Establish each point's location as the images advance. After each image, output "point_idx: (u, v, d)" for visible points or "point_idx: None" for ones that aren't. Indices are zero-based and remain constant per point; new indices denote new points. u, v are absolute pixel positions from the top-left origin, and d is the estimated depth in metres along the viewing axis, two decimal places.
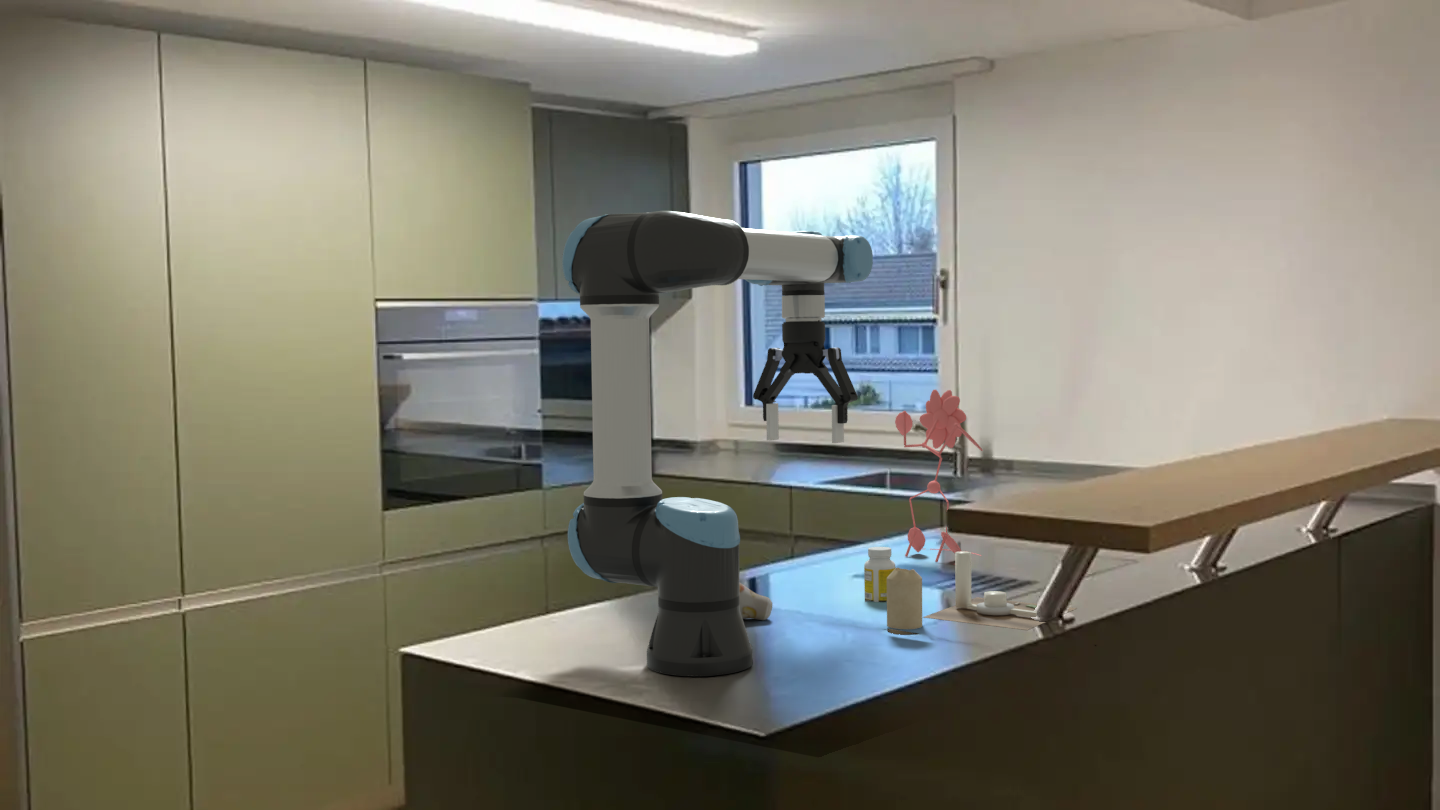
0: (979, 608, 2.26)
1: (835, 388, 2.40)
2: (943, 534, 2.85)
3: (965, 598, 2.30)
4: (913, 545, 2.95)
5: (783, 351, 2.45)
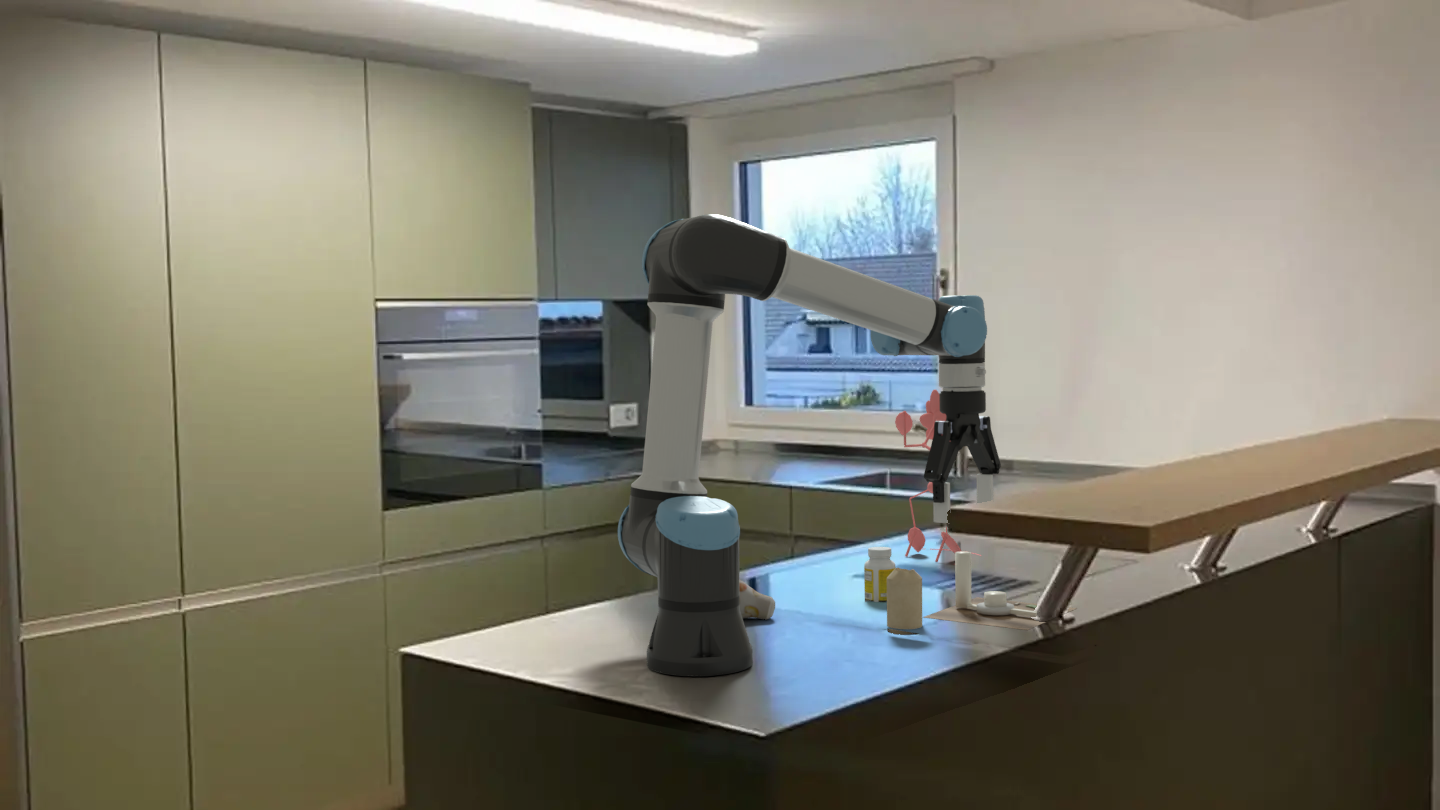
0: (979, 608, 2.26)
1: None
2: (943, 534, 2.85)
3: (965, 598, 2.30)
4: (913, 545, 2.95)
5: None
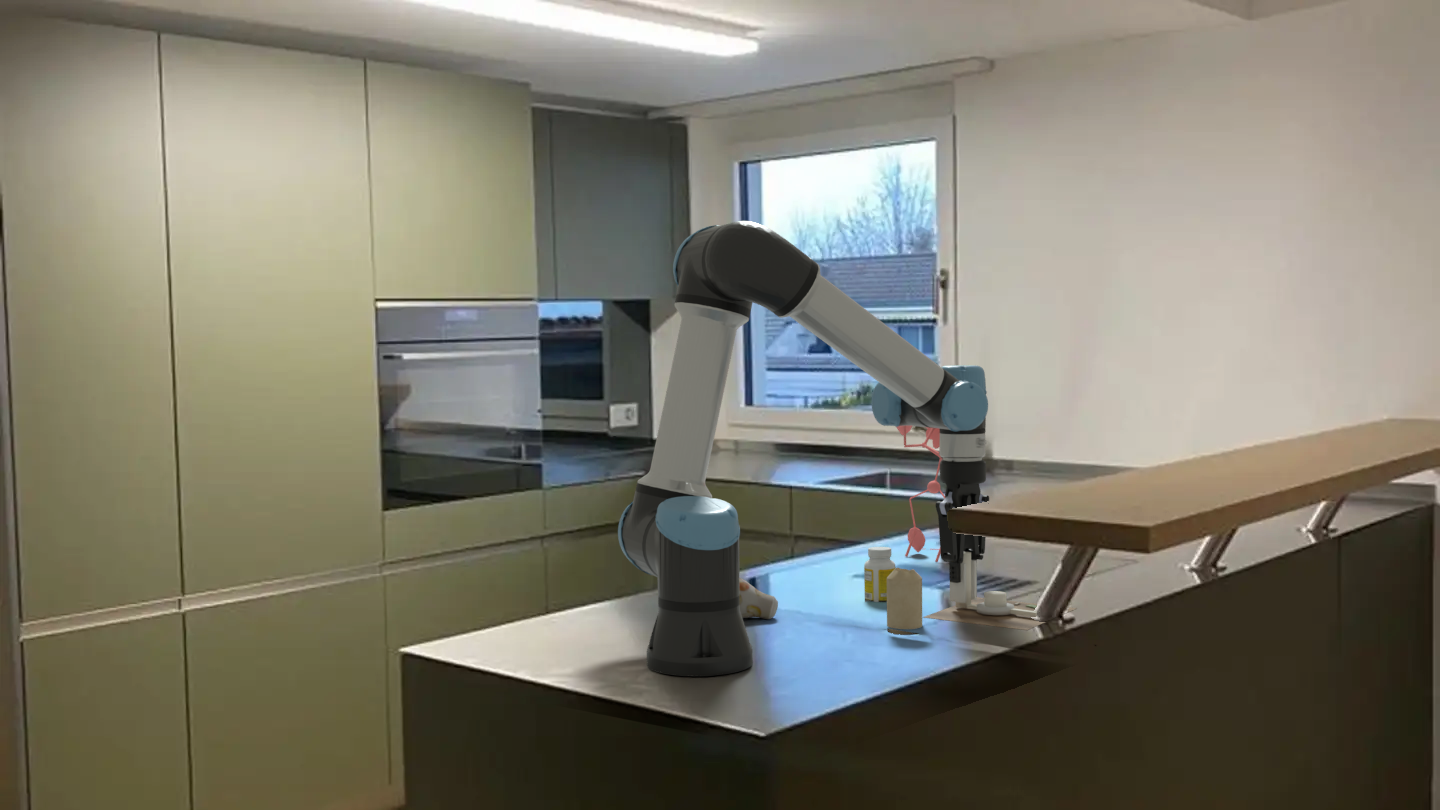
0: (979, 608, 2.26)
1: None
2: None
3: None
4: (913, 545, 2.95)
5: None
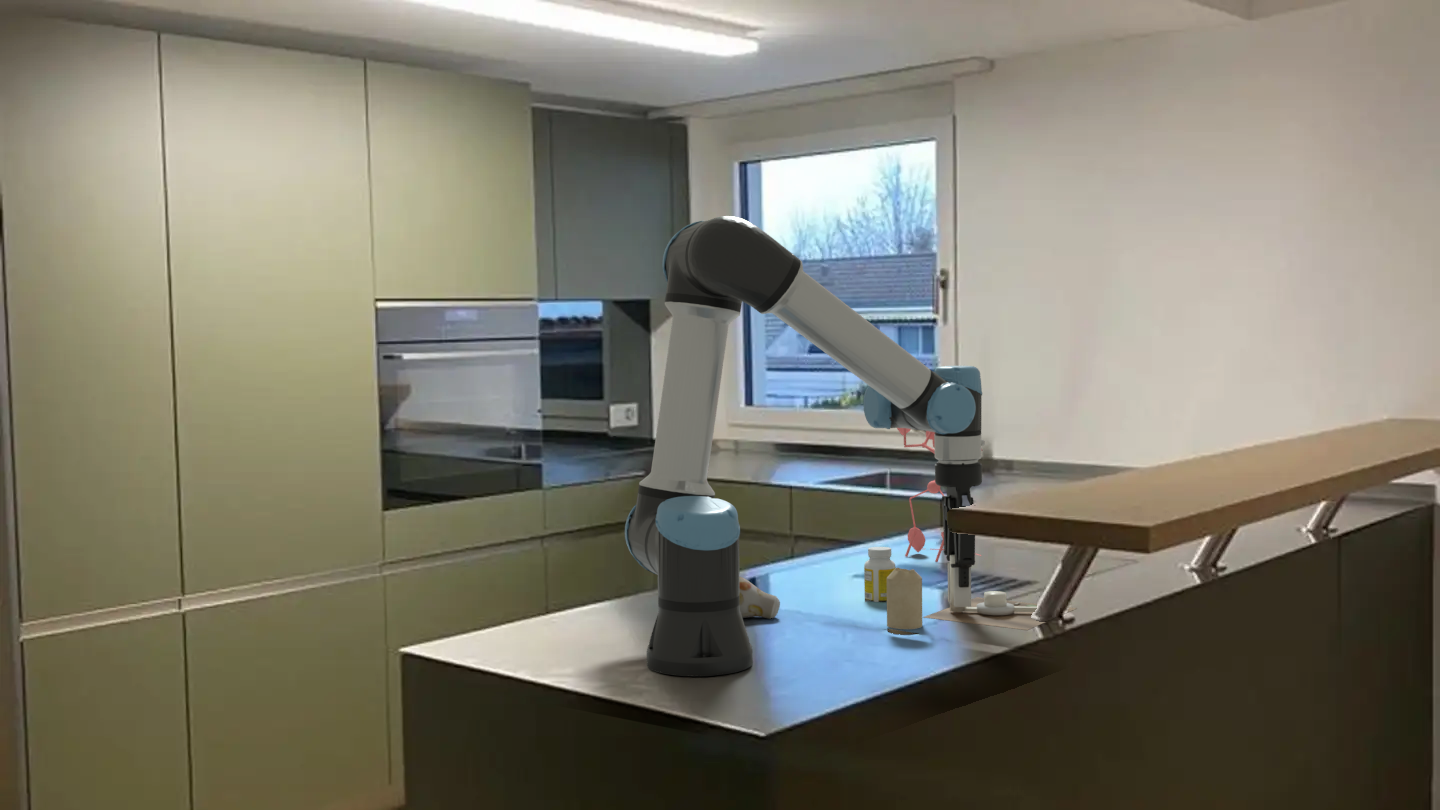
0: (987, 610, 2.25)
1: None
2: (943, 534, 2.85)
3: None
4: (913, 545, 2.95)
5: None
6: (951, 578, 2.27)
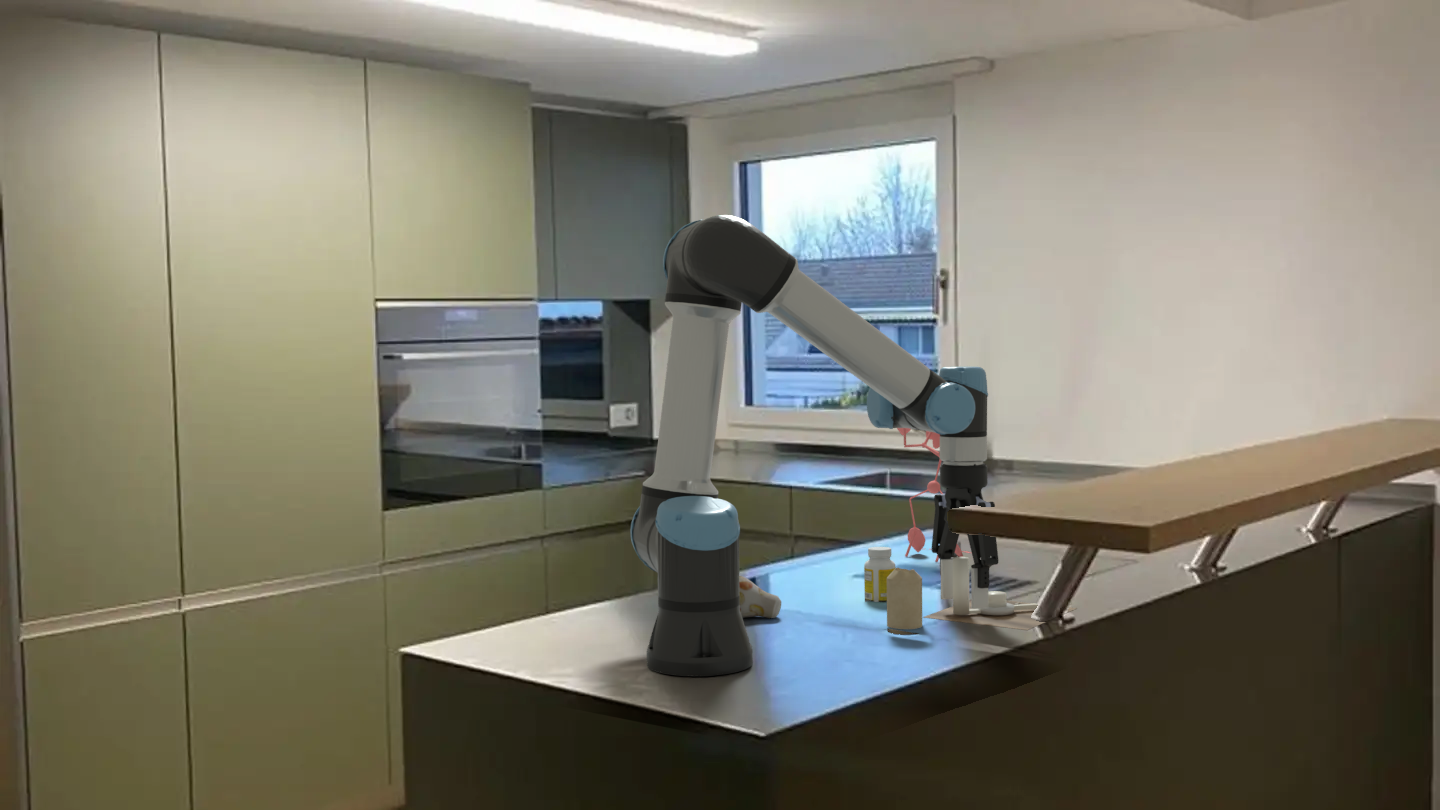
0: (994, 610, 2.24)
1: (979, 548, 2.19)
2: None
3: (968, 604, 2.25)
4: (913, 545, 2.95)
5: (945, 495, 2.27)
6: (956, 581, 2.24)
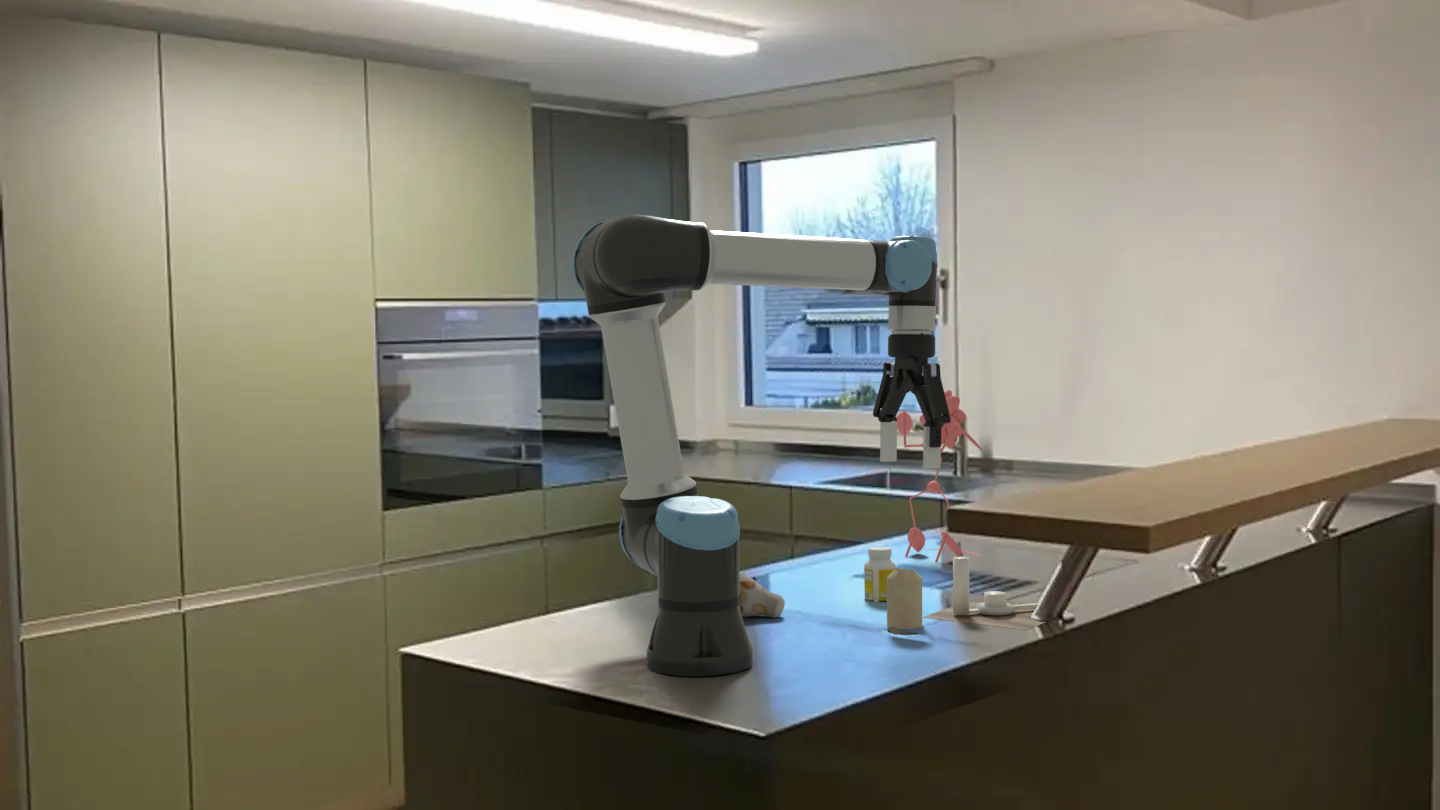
0: (994, 610, 2.24)
1: (929, 408, 2.18)
2: (943, 534, 2.85)
3: (968, 604, 2.25)
4: (913, 545, 2.95)
5: (894, 366, 2.27)
6: (956, 581, 2.24)
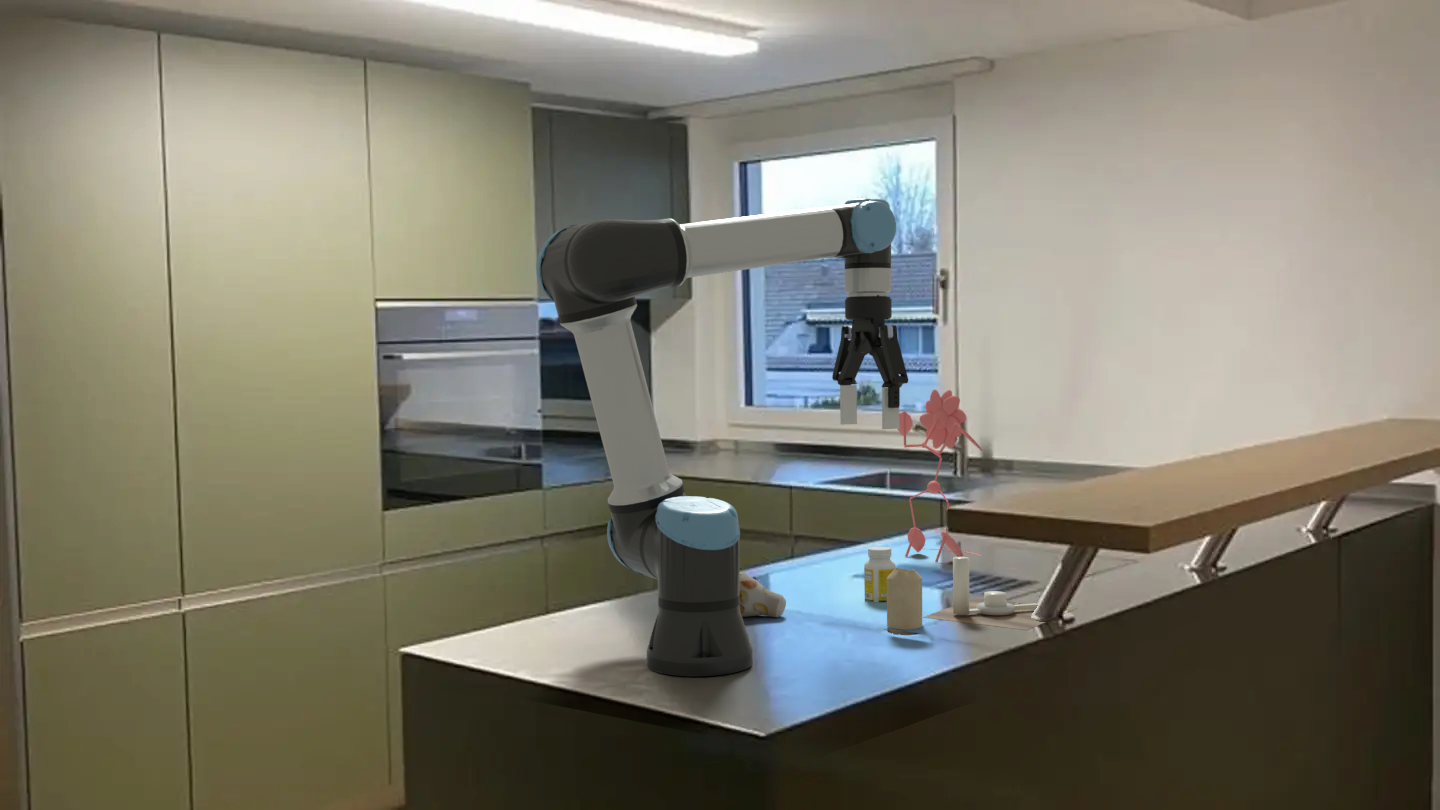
0: (994, 610, 2.24)
1: (887, 369, 2.20)
2: (943, 534, 2.85)
3: (968, 604, 2.25)
4: (913, 545, 2.95)
5: (851, 329, 2.29)
6: (956, 581, 2.24)
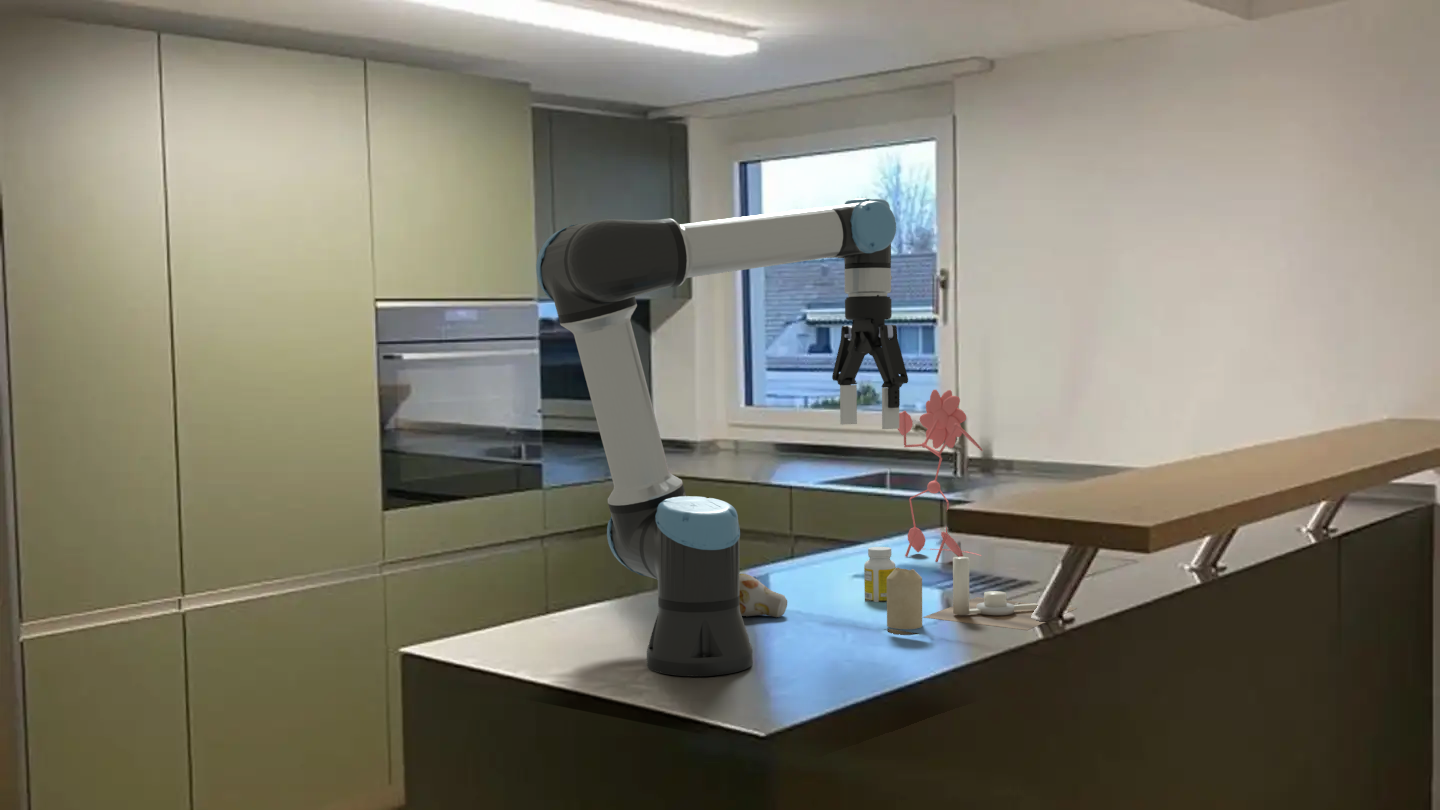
0: (994, 610, 2.24)
1: (887, 369, 2.20)
2: (943, 534, 2.85)
3: (968, 604, 2.25)
4: (913, 545, 2.95)
5: (851, 329, 2.29)
6: (956, 581, 2.24)
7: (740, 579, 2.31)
